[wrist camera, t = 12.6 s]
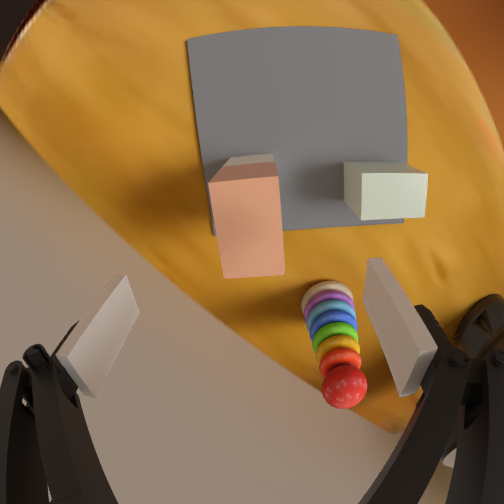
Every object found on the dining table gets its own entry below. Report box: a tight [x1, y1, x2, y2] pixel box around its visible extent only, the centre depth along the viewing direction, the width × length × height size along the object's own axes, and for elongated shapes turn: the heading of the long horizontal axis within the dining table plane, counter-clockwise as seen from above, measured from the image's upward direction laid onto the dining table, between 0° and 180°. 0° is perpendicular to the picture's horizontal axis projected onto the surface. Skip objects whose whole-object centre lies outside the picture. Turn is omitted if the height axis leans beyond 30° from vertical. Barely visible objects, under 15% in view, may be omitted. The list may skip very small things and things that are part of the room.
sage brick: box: [344, 162, 428, 220], centre depth 29 cm, size 8×5×7 cm, turn 96°
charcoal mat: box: [187, 26, 407, 236], centre depth 30 cm, size 26×26×1 cm
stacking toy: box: [301, 281, 367, 409], centre depth 33 cm, size 8×8×19 cm
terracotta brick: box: [208, 162, 285, 279], centre depth 24 cm, size 8×5×7 cm, turn 6°
